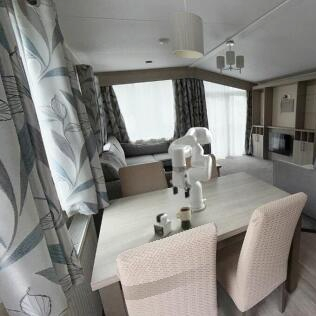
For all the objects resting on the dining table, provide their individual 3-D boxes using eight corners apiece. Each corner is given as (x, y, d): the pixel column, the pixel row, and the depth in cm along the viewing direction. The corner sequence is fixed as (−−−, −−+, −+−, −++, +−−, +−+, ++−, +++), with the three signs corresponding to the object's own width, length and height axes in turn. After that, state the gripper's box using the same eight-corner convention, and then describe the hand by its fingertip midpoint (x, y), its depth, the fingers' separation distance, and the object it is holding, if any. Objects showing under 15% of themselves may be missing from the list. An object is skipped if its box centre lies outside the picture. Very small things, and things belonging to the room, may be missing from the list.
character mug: (192, 222, 132) (191, 204, 128) (196, 227, 126) (195, 209, 123) (176, 227, 126) (174, 209, 123) (179, 233, 120) (177, 214, 117)
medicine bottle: (154, 234, 119) (152, 216, 116) (162, 228, 125) (160, 211, 122) (164, 237, 116) (162, 219, 113) (172, 230, 123) (170, 213, 120)
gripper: (195, 169, 114) (196, 196, 118) (174, 165, 122) (176, 190, 126) (185, 172, 107) (187, 201, 111) (164, 168, 116) (166, 194, 120)
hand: (181, 195), depth 119 cm, fingers open, 9 cm apart
